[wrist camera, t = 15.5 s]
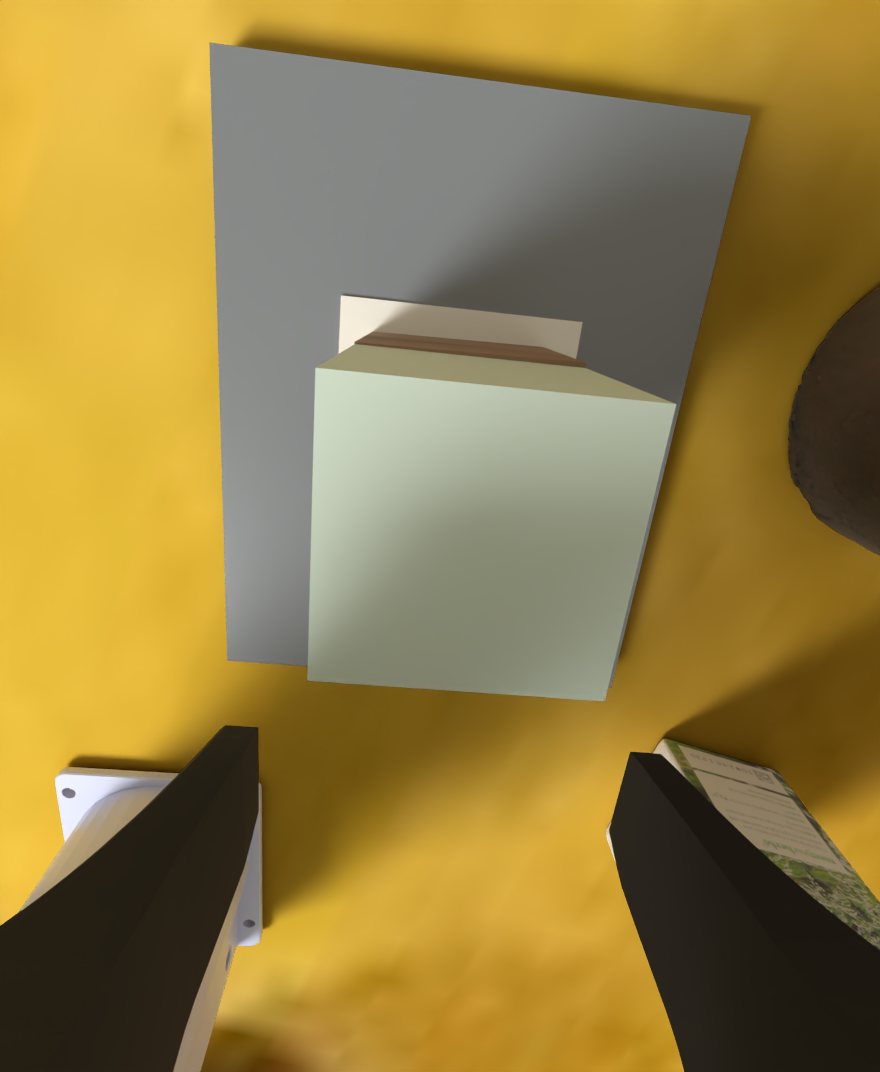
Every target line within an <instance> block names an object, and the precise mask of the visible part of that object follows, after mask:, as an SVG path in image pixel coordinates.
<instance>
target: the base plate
mask: <svg viewBox="0 0 880 1072" xmlns="http://www.w3.org/2000/svg"><path fill="white" fill-rule="evenodd" d="M210 76H211V110H212V145H213V180H214V214H215V249H216V284H217V318H218V353H219V388H220V422H221V457H222V492H223V526H224V561H225V596H226V630H227V661H241V662H255V663H269V664H283V665H296V666H308V635H309V596H310V557H311V518H312V479H313V440H314V401H315V368H316V367H317V366H319V365H321V364H322V363H324V362H326V361H327V360H329V359H331V358H332V357H334V356H336V355H337V354H339V353H341V352H342V351H344V350H346V349H347V348H349V347H351V346H352V345H354V342H355V341H357V340H359V339H360V338H362V337H364V336H366V335H367V334H369V333H371V332H384V333H395V334H406V335H417V336H428V337H439V338H450V339H461V340H472V341H483V342H494V343H505V344H516V345H527V346H538V347H544V348H547V349H550V350H553V351H555V352H558V353H561V354H564V355H566V356H569V357H572V358H575V359H577V360H580V361H583V362H586V366H585V368H587V369H589V370H592V371H594V372H597V373H599V374H602V375H604V376H607V377H609V378H612V379H614V380H617V381H619V382H622V383H624V384H627V385H629V386H632V387H634V388H637V389H639V390H642V391H644V392H647V393H649V394H652V395H655V396H657V397H660V398H662V399H665V400H667V401H670V402H672V403H675V404H676V408H675V412H674V416H673V420H672V425H671V429H670V433H669V437H668V441H667V445H666V449H665V454H664V458H663V462H662V466H661V470H660V474H659V478H658V483H657V487H656V491H655V495H654V499H653V503H652V508H651V512H650V516H649V520H648V524H647V528H646V532H645V537H644V541H643V545H642V549H641V553H640V557H639V561H638V566H637V570H636V574H635V578H634V582H633V586H632V591H631V595H630V599H629V603H628V607H627V611H626V615H625V620H624V624H623V628H622V632H621V636H620V640H619V644H618V649H617V653H616V657H615V661H614V665H613V669H612V673H611V678H610V682H609V686H608V688H611V686H612V682H613V678H614V674H615V670H616V666H617V662H618V657H619V653H620V649H621V645H622V641H623V637H624V633H625V629H626V625H627V621H628V617H629V613H630V608H631V604H632V600H633V596H634V592H635V588H636V584H637V580H638V576H639V572H640V568H641V564H642V560H643V555H644V551H645V547H646V543H647V539H648V535H649V531H650V527H651V523H652V519H653V515H654V511H655V507H656V502H657V498H658V494H659V490H660V486H661V482H662V478H663V474H664V470H665V466H666V462H667V458H668V454H669V449H670V445H671V441H672V437H673V433H674V429H675V425H676V421H677V417H678V413H679V409H680V405H681V401H682V396H683V392H684V388H685V384H686V380H687V376H688V372H689V368H690V364H691V360H692V356H693V352H694V347H695V343H696V339H697V335H698V331H699V327H700V323H701V319H702V315H703V311H704V307H705V303H706V299H707V294H708V290H709V286H710V282H711V278H712V274H713V270H714V266H715V262H716V258H717V254H718V250H719V246H720V241H721V237H722V233H723V229H724V225H725V221H726V217H727V213H728V209H729V205H730V201H731V197H732V193H733V188H734V184H735V180H736V176H737V172H738V168H739V164H740V160H741V156H742V152H743V148H744V144H745V140H746V135H747V131H748V127H749V123H750V119H751V116H750V115H742V114H735V113H728V112H720V111H713V110H705V109H698V108H690V107H683V106H676V105H668V104H661V103H653V102H646V101H639V100H631V99H624V98H616V97H609V96H602V95H594V94H587V93H579V92H572V91H565V90H557V89H550V88H542V87H535V86H527V85H520V84H513V83H505V82H498V81H490V80H483V79H476V78H468V77H461V76H453V75H446V74H439V73H431V72H424V71H416V70H409V69H401V68H394V67H387V66H379V65H372V64H364V63H357V62H350V61H342V60H335V59H327V58H320V57H313V56H305V55H298V54H290V53H283V52H275V51H268V50H261V49H253V48H246V47H238V46H231V45H224V44H216V43H210Z"/></svg>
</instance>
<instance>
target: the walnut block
mask: <svg viewBox="0 0 880 1072" xmlns="http://www.w3.org/2000/svg"><path fill="white" fill-rule="evenodd" d="M354 344H359V345H369V346H378V347H388V348H398V349H407V350H417V351H427V352H436V353H446V354H455V355H465V356H475V357H484V358H494V359H504V360H513V361H523V362H532V363H542V364H552V365H561V366H571V367H581V368H585V366H586V362H583V361H580V360H577V359H575V358H572V357H569V356H566V355H564V354H561V353H558V352H555V351H553V350H550V349H547V348H544V347H538V346H527V345H516V344H505V343H494V342H483V341H472V340H461V339H450V338H439V337H428V336H417V335H406V334H395V333H384V332H371V333H369V334H367V335H366V336H364V337H362V338H360V339H359V340H357V341H355V342H354Z"/></svg>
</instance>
